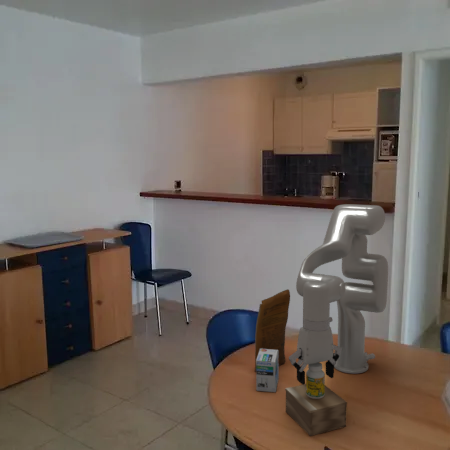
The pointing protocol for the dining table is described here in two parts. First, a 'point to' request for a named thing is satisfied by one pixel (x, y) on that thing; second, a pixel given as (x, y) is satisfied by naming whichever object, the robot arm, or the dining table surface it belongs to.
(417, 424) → the dining table surface
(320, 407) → the lid
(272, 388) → the light bulb box
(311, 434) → the wooden box
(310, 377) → the supplement bottle
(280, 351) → the pancake mix bag
